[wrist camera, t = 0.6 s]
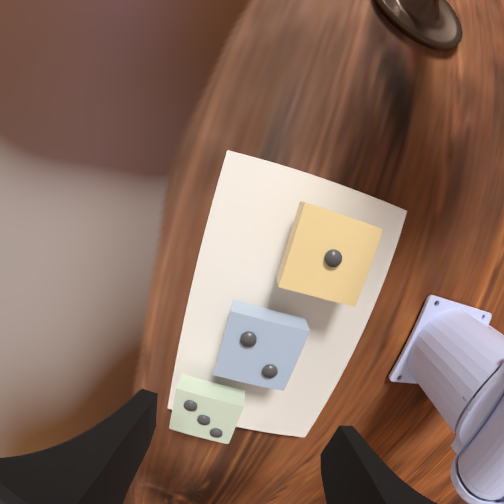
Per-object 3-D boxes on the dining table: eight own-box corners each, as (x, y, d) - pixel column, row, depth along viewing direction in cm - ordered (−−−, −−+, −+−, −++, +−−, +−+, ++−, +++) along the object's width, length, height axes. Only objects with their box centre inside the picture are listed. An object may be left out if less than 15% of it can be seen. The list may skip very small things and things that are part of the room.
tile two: (305, 318, 17) (310, 332, 15) (281, 375, 18) (284, 392, 16) (233, 299, 16) (230, 312, 15) (216, 359, 17) (212, 376, 16)
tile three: (245, 390, 18) (244, 408, 16) (230, 428, 19) (228, 445, 17) (182, 373, 18) (175, 390, 16) (174, 414, 19) (168, 430, 17)
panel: (399, 209, 17) (415, 212, 15) (303, 428, 21) (306, 446, 19) (229, 153, 17) (225, 147, 15) (171, 399, 21) (164, 416, 19)
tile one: (371, 225, 15) (384, 229, 14) (346, 296, 16) (356, 308, 14) (299, 201, 15) (305, 202, 13) (276, 277, 16) (278, 288, 14)
